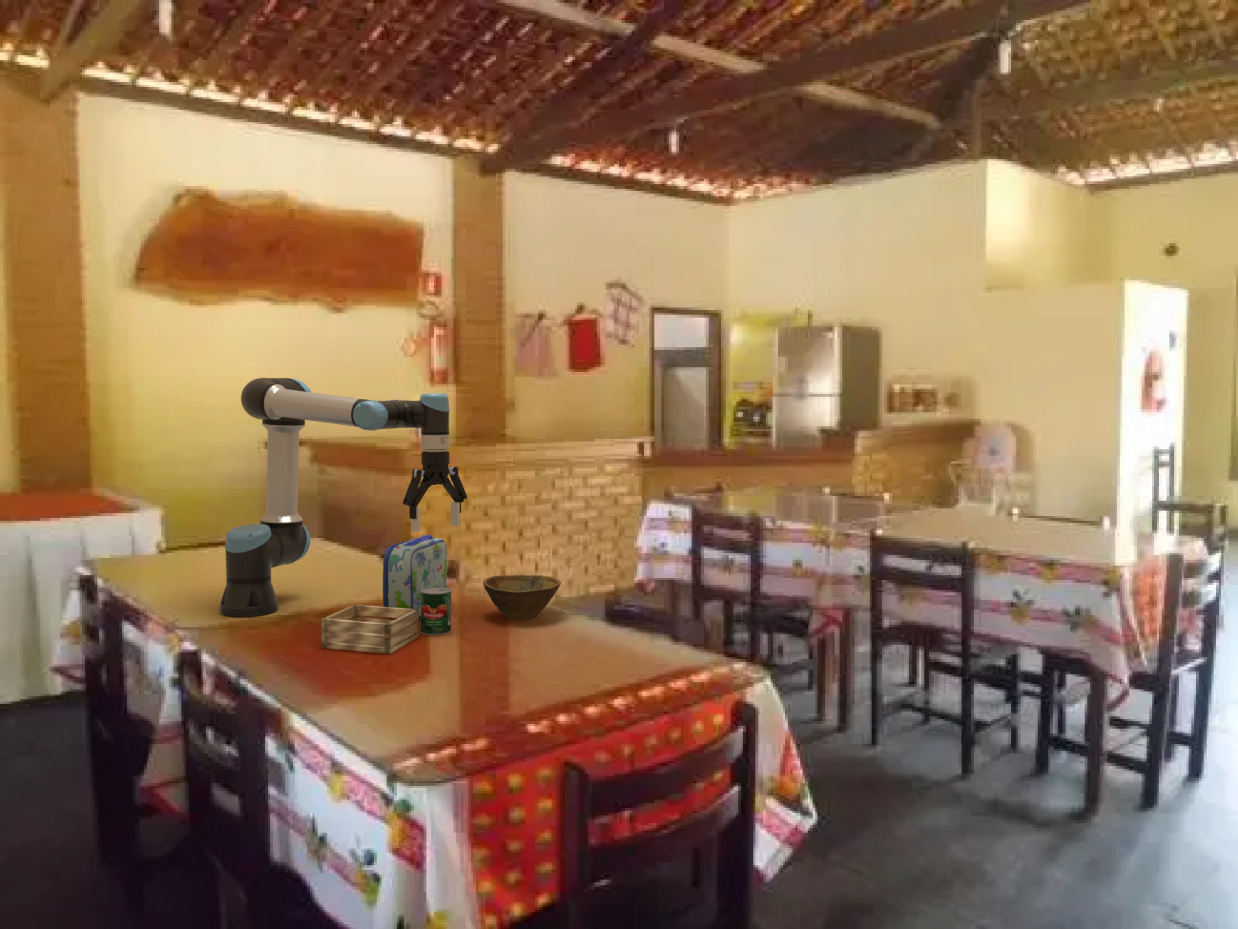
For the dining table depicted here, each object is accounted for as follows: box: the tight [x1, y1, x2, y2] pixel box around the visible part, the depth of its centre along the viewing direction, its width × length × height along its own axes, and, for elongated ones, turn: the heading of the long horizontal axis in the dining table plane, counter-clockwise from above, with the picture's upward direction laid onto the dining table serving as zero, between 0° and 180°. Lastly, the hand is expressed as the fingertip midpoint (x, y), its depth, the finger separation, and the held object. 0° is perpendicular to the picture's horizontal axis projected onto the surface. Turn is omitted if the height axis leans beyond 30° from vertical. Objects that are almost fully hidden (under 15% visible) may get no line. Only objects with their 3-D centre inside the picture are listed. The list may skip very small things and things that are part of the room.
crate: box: [320, 604, 420, 655], centre depth 234 cm, size 18×16×7 cm
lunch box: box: [382, 534, 448, 619], centre depth 265 cm, size 26×11×21 cm, turn 168°
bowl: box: [482, 574, 561, 621], centre depth 263 cm, size 22×23×10 cm
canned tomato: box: [419, 586, 452, 636], centre depth 245 cm, size 8×8×11 cm
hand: (436, 528), depth 258 cm, fingers open, 13 cm apart
